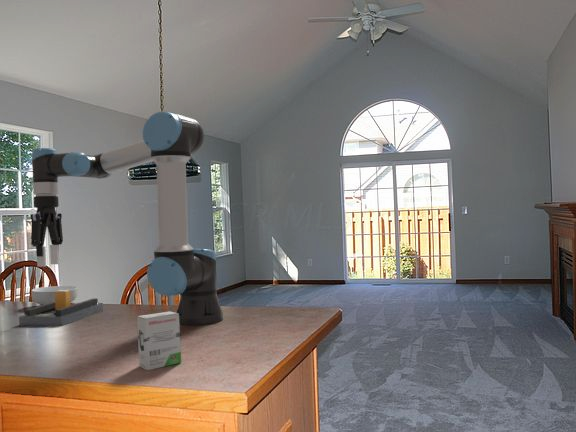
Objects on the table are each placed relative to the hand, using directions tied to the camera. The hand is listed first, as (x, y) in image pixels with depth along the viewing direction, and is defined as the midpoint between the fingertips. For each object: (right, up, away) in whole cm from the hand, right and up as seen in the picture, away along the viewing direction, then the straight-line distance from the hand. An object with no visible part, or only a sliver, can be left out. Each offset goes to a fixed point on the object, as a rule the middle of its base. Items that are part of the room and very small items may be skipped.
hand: (48, 265), depth 182 cm
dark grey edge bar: (-4, -16, +9) cm, 18 cm away
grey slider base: (+2, -19, +8) cm, 20 cm away
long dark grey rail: (+7, -16, +7) cm, 18 cm away
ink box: (+50, -18, -55) cm, 76 cm away
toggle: (+2, -16, +8) cm, 17 cm away
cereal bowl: (-12, -19, +33) cm, 40 cm away
